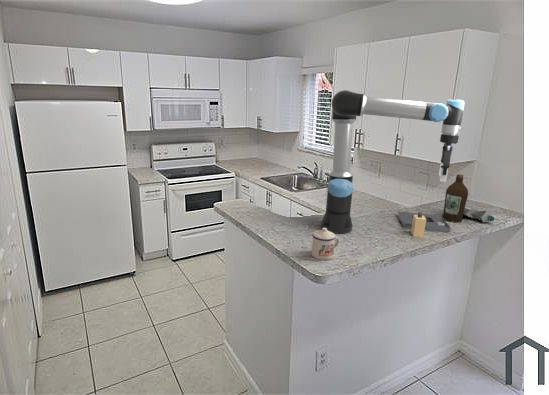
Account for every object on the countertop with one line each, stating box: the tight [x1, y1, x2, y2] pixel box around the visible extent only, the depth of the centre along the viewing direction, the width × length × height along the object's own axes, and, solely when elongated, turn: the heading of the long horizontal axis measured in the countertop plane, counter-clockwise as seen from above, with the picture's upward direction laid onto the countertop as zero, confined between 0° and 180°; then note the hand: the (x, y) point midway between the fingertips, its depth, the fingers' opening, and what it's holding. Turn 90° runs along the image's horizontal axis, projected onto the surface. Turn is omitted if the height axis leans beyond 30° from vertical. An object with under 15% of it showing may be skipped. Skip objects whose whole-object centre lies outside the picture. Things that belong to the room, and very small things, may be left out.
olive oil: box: [442, 174, 469, 223], centre depth 190 cm, size 11×11×25 cm
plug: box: [410, 211, 426, 238], centre depth 167 cm, size 4×6×11 cm
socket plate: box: [396, 211, 452, 233], centre depth 184 cm, size 22×20×4 cm
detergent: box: [463, 207, 495, 223], centre depth 196 cm, size 13×7×25 cm
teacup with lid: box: [311, 228, 340, 261], centre depth 140 cm, size 12×9×12 cm
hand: (442, 179), depth 169 cm, fingers open, 13 cm apart
